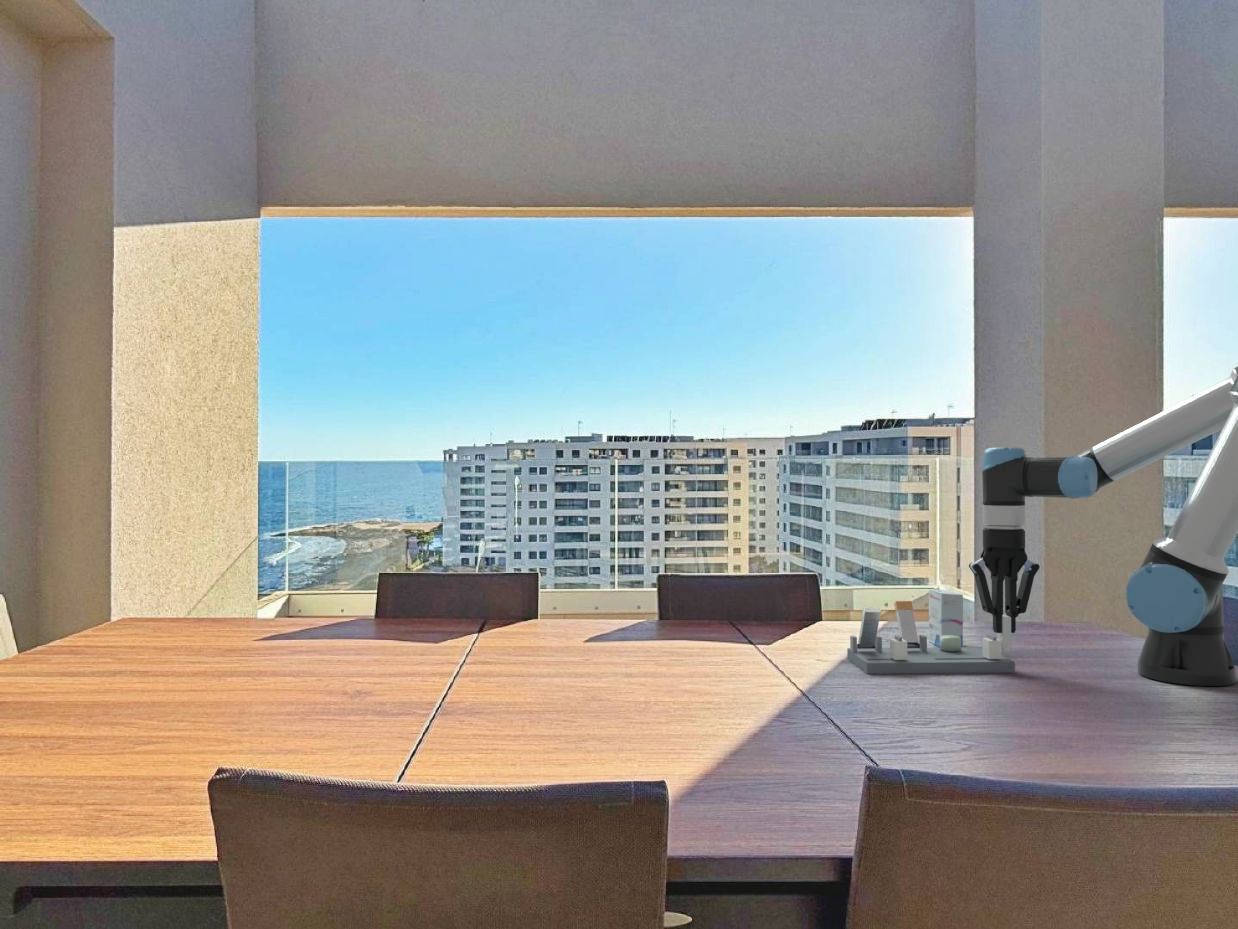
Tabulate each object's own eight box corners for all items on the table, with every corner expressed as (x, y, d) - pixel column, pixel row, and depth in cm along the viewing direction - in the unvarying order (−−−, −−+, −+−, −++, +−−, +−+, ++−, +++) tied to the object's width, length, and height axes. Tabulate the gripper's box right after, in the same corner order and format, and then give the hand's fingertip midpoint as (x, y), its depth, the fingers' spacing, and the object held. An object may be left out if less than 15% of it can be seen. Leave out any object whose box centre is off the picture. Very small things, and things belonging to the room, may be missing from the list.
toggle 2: (918, 649, 176) (910, 603, 181) (920, 647, 175) (911, 601, 180) (901, 649, 176) (893, 603, 181) (903, 647, 175) (895, 601, 180)
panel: (984, 656, 179) (983, 632, 179) (1015, 672, 165) (1014, 645, 165) (847, 658, 179) (847, 633, 179) (866, 673, 165) (866, 647, 165)
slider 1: (902, 656, 169) (902, 635, 169) (907, 660, 166) (907, 638, 166) (889, 656, 169) (889, 635, 169) (894, 660, 166) (894, 638, 166)
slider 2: (995, 655, 169) (994, 634, 169) (1001, 659, 166) (1001, 637, 166) (982, 656, 169) (982, 634, 169) (989, 659, 166) (988, 637, 166)
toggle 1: (873, 645, 177) (879, 607, 172) (875, 650, 175) (881, 612, 171) (856, 645, 177) (862, 607, 172) (858, 650, 175) (864, 612, 171)
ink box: (964, 648, 187) (963, 593, 188) (941, 648, 188) (940, 593, 188) (950, 641, 196) (949, 588, 196) (927, 641, 196) (927, 588, 196)
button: (956, 647, 178) (956, 635, 178) (964, 651, 174) (964, 638, 174) (937, 647, 178) (936, 635, 178) (944, 651, 174) (944, 639, 174)
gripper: (1028, 526, 172) (1029, 645, 172) (962, 526, 172) (962, 645, 172) (1047, 528, 164) (1047, 654, 164) (977, 528, 165) (978, 654, 164)
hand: (1004, 649), depth 168 cm, fingers closed
